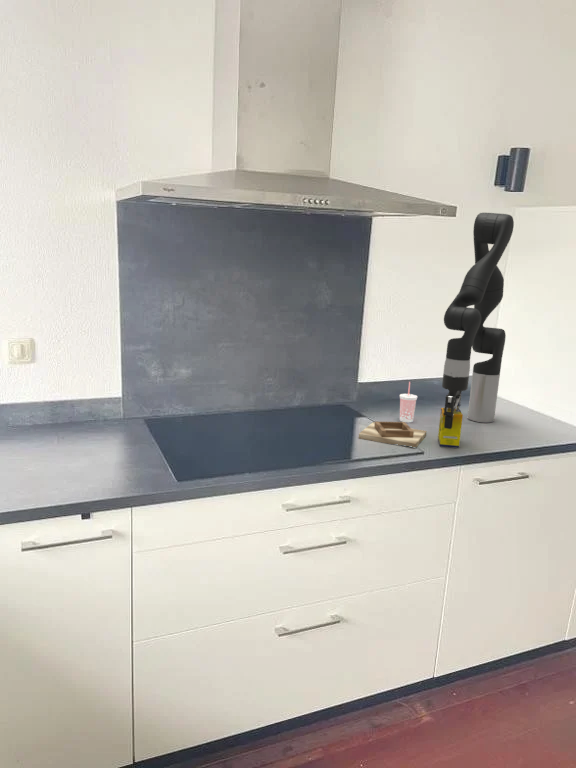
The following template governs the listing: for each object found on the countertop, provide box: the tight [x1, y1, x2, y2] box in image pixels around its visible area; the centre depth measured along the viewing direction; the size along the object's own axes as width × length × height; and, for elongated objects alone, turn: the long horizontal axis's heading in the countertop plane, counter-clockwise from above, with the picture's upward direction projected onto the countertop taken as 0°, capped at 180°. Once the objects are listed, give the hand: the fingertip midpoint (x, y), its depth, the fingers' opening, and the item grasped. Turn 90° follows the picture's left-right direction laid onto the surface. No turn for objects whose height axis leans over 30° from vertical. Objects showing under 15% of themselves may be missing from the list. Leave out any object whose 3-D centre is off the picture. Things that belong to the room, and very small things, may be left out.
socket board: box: [358, 421, 427, 448], centre depth 188 cm, size 15×18×4 cm
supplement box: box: [437, 407, 464, 449], centre depth 182 cm, size 6×6×11 cm
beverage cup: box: [399, 381, 418, 423], centre depth 206 cm, size 6×6×14 cm
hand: (450, 424), depth 181 cm, fingers open, 8 cm apart
